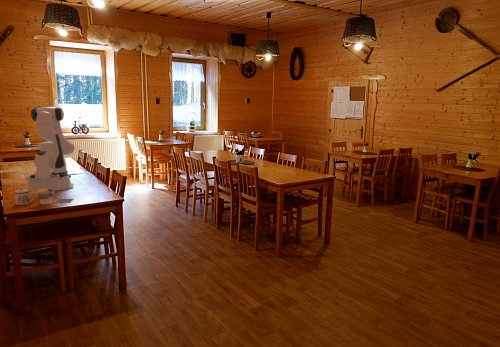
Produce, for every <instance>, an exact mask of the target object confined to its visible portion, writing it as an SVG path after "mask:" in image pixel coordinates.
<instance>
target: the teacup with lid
mask: <svg viewBox="0 0 500 347" xmlns="http://www.w3.org/2000/svg"><path fill="white" fill-rule="evenodd" d="M13 192H14V197H15V204H16V206H26V205H28V204H29V205H30V204H31V200H33V199H34V198H35V193H34V192H31V191H30V189H27V188H24V187H23V186H20V187H19V189H17V190H15V191H13ZM30 194H32V197H30Z"/></svg>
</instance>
